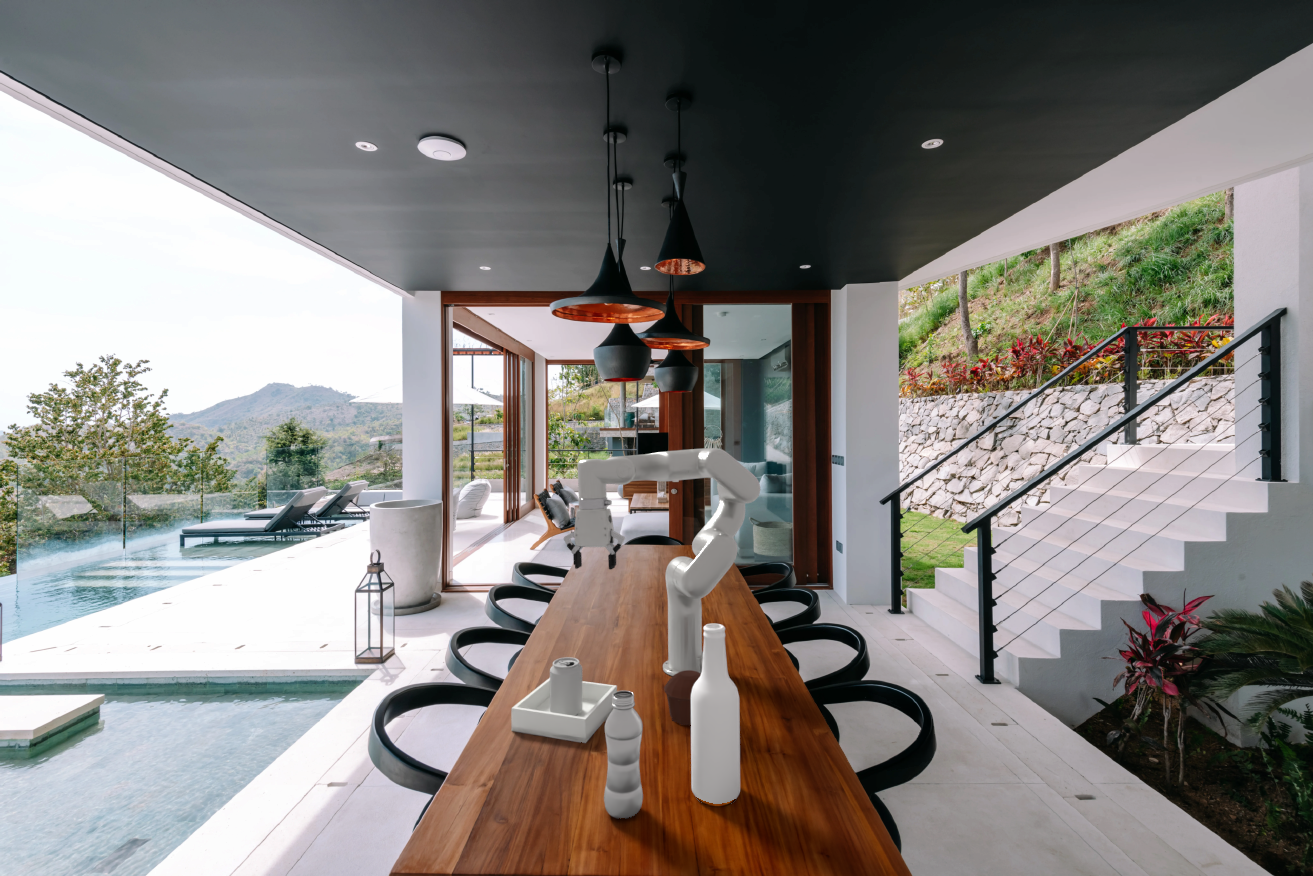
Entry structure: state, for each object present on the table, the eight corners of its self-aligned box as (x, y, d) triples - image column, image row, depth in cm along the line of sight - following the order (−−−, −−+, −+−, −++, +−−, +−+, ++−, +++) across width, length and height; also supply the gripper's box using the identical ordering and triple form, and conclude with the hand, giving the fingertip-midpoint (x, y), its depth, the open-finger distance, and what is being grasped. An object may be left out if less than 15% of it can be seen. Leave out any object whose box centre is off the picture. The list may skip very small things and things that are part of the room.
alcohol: (705, 813, 96) (704, 636, 97) (683, 785, 104) (681, 622, 105) (749, 800, 100) (748, 630, 100) (724, 774, 108) (723, 616, 109)
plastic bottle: (604, 801, 100) (603, 687, 100) (642, 799, 100) (641, 686, 101) (603, 826, 93) (603, 704, 94) (644, 823, 94) (643, 702, 94)
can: (577, 721, 127) (577, 668, 127) (545, 719, 128) (545, 666, 129) (586, 706, 135) (585, 656, 135) (555, 705, 136) (555, 654, 136)
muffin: (688, 701, 140) (688, 660, 140) (723, 716, 132) (723, 673, 132) (653, 717, 131) (653, 674, 132) (688, 734, 123) (688, 688, 124)
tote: (616, 706, 137) (616, 685, 137) (585, 743, 120) (585, 719, 120) (550, 697, 142) (550, 677, 143) (511, 731, 125) (511, 708, 125)
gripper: (627, 502, 154) (629, 565, 153) (568, 503, 158) (571, 564, 158) (618, 506, 146) (621, 572, 146) (557, 506, 151) (559, 570, 151)
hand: (595, 568), depth 152 cm, fingers open, 9 cm apart
